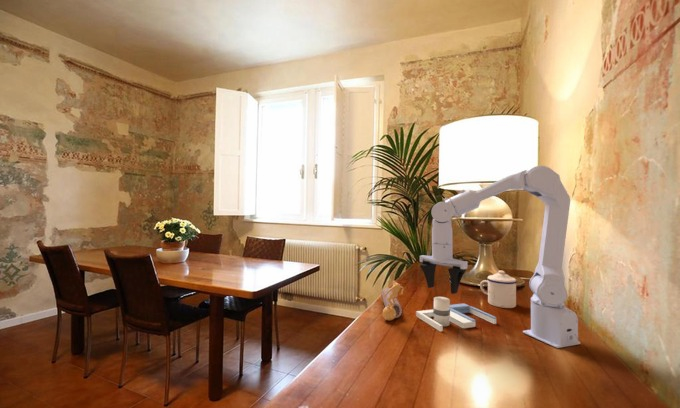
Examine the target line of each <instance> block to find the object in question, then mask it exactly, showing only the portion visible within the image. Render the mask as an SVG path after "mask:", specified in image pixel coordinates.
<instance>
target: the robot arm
mask: <svg viewBox="0 0 680 408" xmlns="http://www.w3.org/2000/svg"><path fill="white" fill-rule="evenodd" d="M509 190H511V191H512V190H513V191H520V190H524V191H525V192H526V193H529V194H531V195H533V196H535V197H537V198H538V199H539V201H541V202H542V203H543V204H544V206H545V207H544V216H543V224H542V231H541V237H540V239H541V240H540V246H539V247H540V248H539V255H538V262H537V265H536V267H535V269H534V273H533V275H532V276H531V278H530V279H529V283H528V284H529V289H530V290H531V292H532V293H533V294H532V296H531V297H530V329H526V330H522V333H523V334H524V335H527V336H530V337H532V338H534V339H536V340H539V341H541V342H543V343H545V344H548V345H550V346H552V347H554V348H557V349H560V348H566V347H571V346H576V345H581V341H580V340H579V319H578V318H579V317H578V315H577V314H576V312H575V311H573V310H572V309H569V308H567V307H566V304H565V302H566V301H567V299H568V291H567V288H566V287H565V275H564V272H563V261H564V254H565V246H566V237H567V229H568V221H569V215H570V206H571V196H570V194H569V193H568V191H567V190H566V187H565V186H564V184H563V183H562V181H561V177H560V174H559V173H557V172H556V171H554V170H553V169H552V168H550V167H548V166H546V165H537V166H534V167H531V168H530V169H529V170H528V169H526V170H522V171H518V172H515V173H512V174H510V175H508V176H505V177H503V178H501V179H499V180H496V181H494V182H493V183H491V184H489V185H487V186H485V187H482V188H481V189H478V190H476V191H475V190H472V189H467V190H465V189H462V190H459V193H457V194H455V195H454V196H452V197H450V198H448V197H445V198H444V199H443V200H444V201H439V202H437V203H435V204H434V205H433V206H432V208H431V212H430V213H431V217H432V218H433V219H432V222H431V224H432V227H431V255H426V254H425V255H424V254H422V255H419V262H420V265H419V267H420V268H421V270H422V272H423V275H424V277H425V279H426V280H425V281H426V284H427V288H428V289H432V288H434V287H435V274H436V267H437V265H438V266H439V265H440V266H445V267H450V268H448V269H447V271H448V275H449V280H450V281H449V282H450V294H452V295H455V294H457V293H458V291H459V286H460V283H461V280H462V278H463V277H464V274H466V271H467V269H468V261H466V260H465V261H464V260H460V259H458V258H457V259H456V258H453V254H454V253H453V242H454V241H453V240H454V239H453V238H454V237H453V227H452V217H460V216H462V215H464V214H466V213H469V212H471V211H473V210H476V209H478V208H479V207H480V205H481V202H482V201H485V200H487V199H489V198H492V197H494V196H497V195H499V194H502V193H504V192H507V191H509Z"/></svg>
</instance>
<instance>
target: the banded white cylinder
mask: <svg viewBox="0 0 680 408" xmlns="http://www.w3.org/2000/svg"><path fill="white" fill-rule="evenodd" d="M450 299H451V298H448V297H445V296H435V297H433V308H432V310H433V313H434V317H433V320H434V321H436V322H437V323H439V324H441V325H442V326H443V327H448V326H450V324H451V321H450V305H451V300H450Z"/></svg>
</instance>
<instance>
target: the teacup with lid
mask: <svg viewBox="0 0 680 408" xmlns="http://www.w3.org/2000/svg"><path fill="white" fill-rule="evenodd" d="M486 279H487V280H486ZM486 279H484V280H481V281H480V283H479V287H480V290H481V292H482V293H483V294H485V295H487V302H488V304H489V305H491V306H494V307H498V308H501V309H503V308H504V309H513V308H515V307H517V279H516V278H515V277H512V276H510V275H509V274H507V273H506V272H505V271H504V270H498V272H496V273H494V274H490V275H488V276H487V278H486ZM484 283H487V290H485V287H484Z"/></svg>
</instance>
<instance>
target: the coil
mask: <svg viewBox="0 0 680 408" xmlns="http://www.w3.org/2000/svg"><path fill="white" fill-rule="evenodd" d="M390 288H391V287H386V288H384V289H383V290H381V299H382V302H383V305H384V308H385V307H387V306H389V305H390V303H389V301H388V299H387V298H388V297H389V296H390V295H391V294H393V291H392V290H391V291H390V292H389V293H388V294H387V295H386V296H385V297H384V295H385V294H386V293H387V292H388V290H389V289H390ZM383 297H384V299H383ZM394 300H395V305H394V306H393V308H394V309H395V311H396V317H395V318H394V319H398V318H399V317H400V316H401V315H402V311H403V308H402V306H401V303H400V301H399V299H398V297H396V298H395V299H394ZM390 301H391V302H392V305H393V301H392V299H391V300H390ZM392 305H391V306H392Z"/></svg>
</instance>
